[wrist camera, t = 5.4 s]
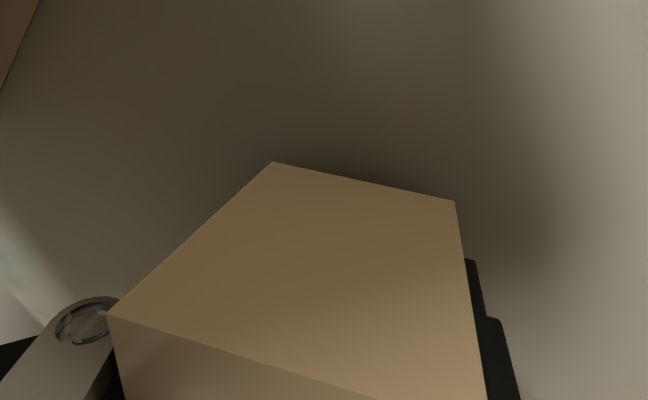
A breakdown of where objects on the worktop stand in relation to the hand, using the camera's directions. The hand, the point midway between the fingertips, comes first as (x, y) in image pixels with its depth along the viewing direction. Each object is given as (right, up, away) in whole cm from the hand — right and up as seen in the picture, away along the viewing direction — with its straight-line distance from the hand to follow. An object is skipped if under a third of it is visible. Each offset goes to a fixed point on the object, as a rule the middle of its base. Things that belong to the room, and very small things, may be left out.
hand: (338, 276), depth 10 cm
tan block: (0, 0, +1) cm, 1 cm away
